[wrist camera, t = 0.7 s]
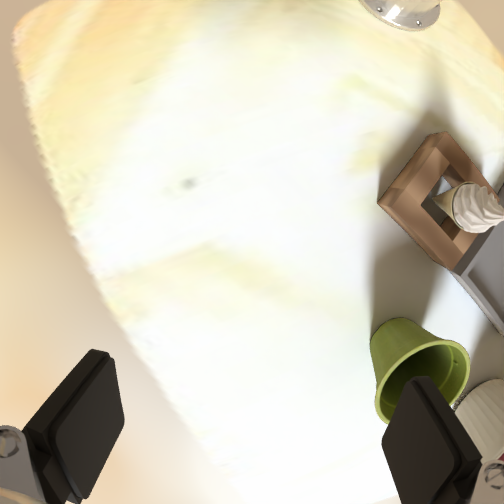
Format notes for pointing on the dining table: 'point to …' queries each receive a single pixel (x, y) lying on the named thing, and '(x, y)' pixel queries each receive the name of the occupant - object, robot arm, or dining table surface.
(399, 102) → the dining table surface
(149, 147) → the dining table surface
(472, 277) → the grey tray
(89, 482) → the robot arm
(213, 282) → the dining table surface
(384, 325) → the plant pot
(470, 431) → the canister
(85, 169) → the dining table surface
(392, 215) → the cone stand
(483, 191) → the ice cream cone
